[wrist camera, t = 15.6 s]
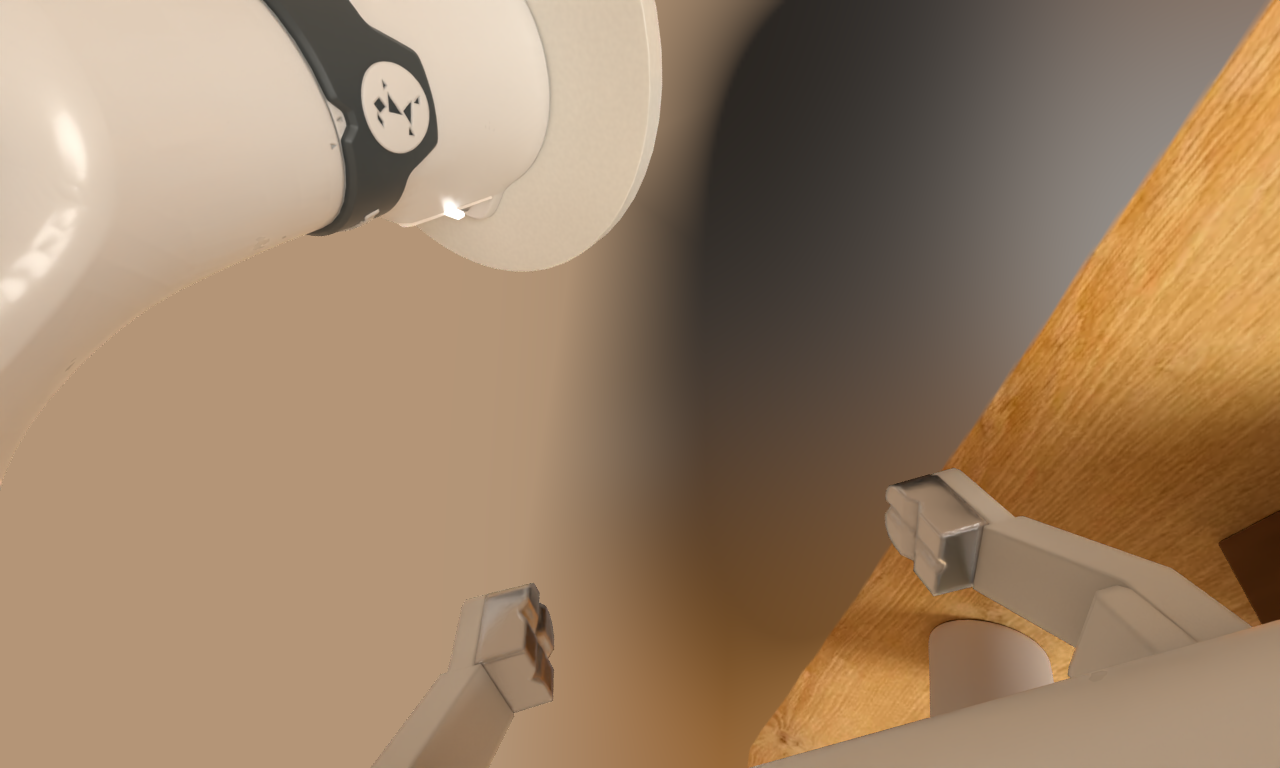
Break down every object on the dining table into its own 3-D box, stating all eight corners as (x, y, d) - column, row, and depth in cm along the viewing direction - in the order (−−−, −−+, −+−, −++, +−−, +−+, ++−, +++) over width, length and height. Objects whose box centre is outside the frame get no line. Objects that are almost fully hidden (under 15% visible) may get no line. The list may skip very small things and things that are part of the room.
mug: (909, 642, 46) (906, 775, 38) (966, 604, 40) (977, 753, 32) (1043, 710, 44) (1070, 868, 36) (1125, 681, 38) (1178, 861, 30)
